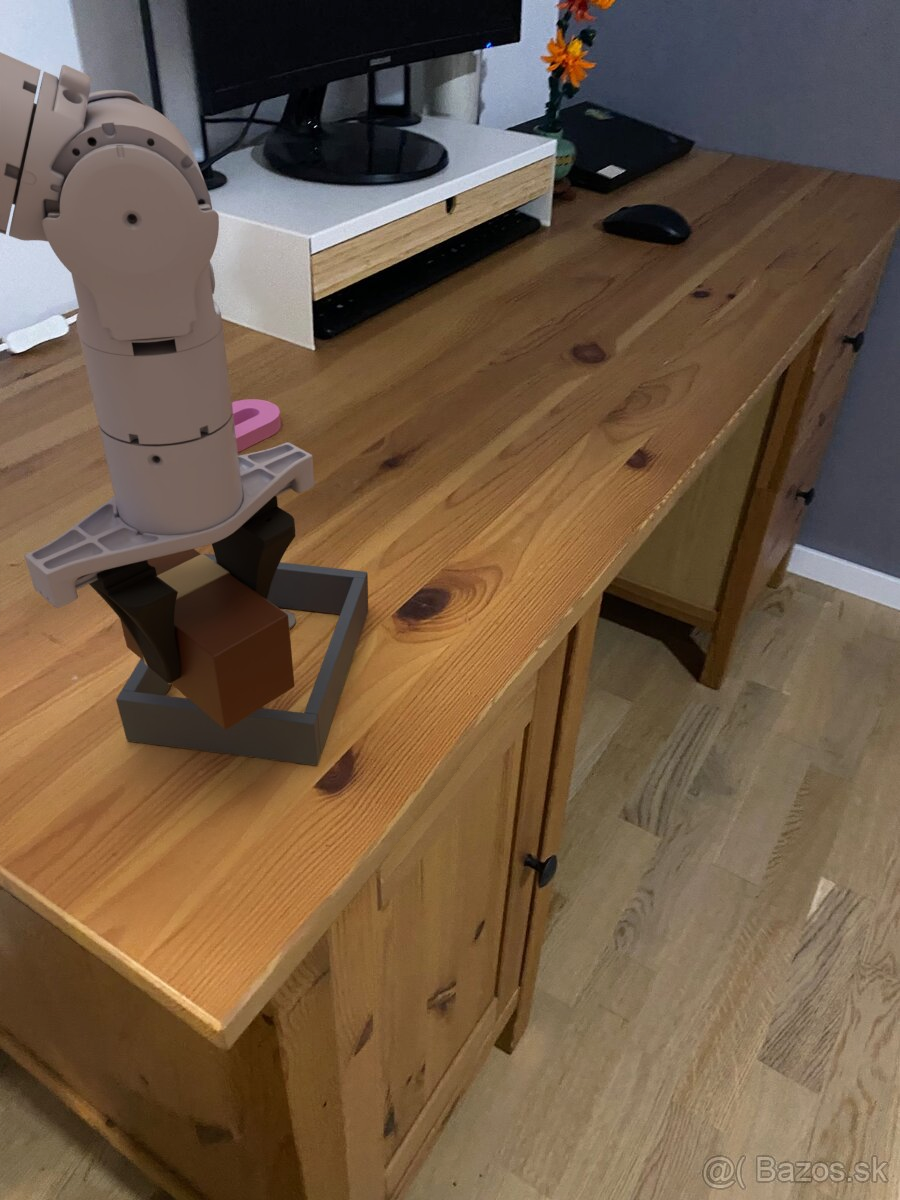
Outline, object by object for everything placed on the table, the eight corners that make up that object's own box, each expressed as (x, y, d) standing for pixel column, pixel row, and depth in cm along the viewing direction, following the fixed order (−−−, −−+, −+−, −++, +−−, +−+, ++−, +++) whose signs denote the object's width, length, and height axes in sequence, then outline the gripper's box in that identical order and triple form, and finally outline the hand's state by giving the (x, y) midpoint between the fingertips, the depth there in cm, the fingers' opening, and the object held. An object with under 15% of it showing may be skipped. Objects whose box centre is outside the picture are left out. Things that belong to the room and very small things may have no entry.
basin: (126, 741, 54) (115, 699, 52) (210, 592, 65) (203, 553, 63) (317, 766, 53) (314, 724, 51) (368, 611, 64) (367, 571, 62)
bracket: (183, 479, 78) (171, 404, 73) (142, 457, 80) (127, 384, 76) (293, 424, 86) (287, 354, 81) (252, 407, 88) (244, 338, 84)
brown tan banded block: (225, 732, 46) (212, 656, 42) (125, 648, 50) (107, 574, 47) (296, 687, 48) (289, 612, 45) (195, 611, 53) (183, 538, 50)
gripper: (243, 343, 46) (267, 559, 55) (-40, 437, 38) (39, 677, 46) (336, 387, 43) (346, 612, 51) (46, 503, 34) (115, 750, 43)
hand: (206, 647), depth 48 cm, fingers closed on brown tan banded block, 4 cm apart
